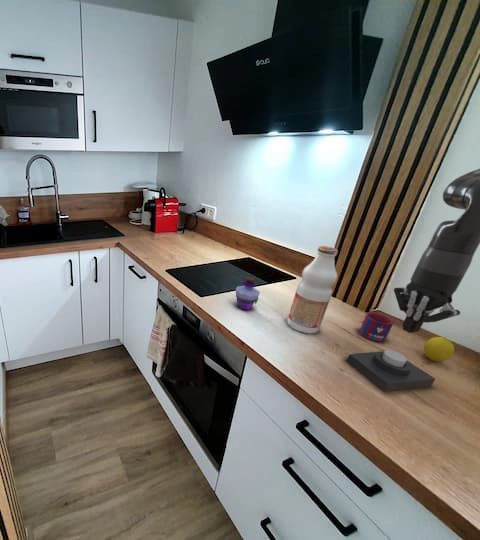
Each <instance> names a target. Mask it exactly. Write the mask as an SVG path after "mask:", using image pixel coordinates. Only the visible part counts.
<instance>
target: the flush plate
mask: <svg viewBox="0 0 480 540" xmlns="http://www.w3.org/2000/svg"><path fill="white" fill-rule="evenodd" d="M385 351H386V350H381V351H371V352H370V351H369V352H359V353H356V352H355V353H349V354H348V356H347V358H346V363H347V364H349V365H350V366H351V367H353V369H355V370H356V371H357V372H358V373H360V374H361V375H363V377H365V378H366V379H368V380H369V381H370V382H371V383H372V384H374V385H375V386H376V387H377V388H379V389H380V390H381V391H382V392H385V393H386V392H394V391H404V390H414V389H421V388H432V385H433V384H434V382H435V381H436V378H435V377H433V376H432V375H430V374H429V373H428V372H426V371H424V370H423V369H421V368H419V367H418V366H417V365H415V364H413V363H412V362H410V361H409V360H407V361H406V363H405V364H404V366H403V367H397V366H393V365H391V364H389V363H387V362H385V361H384V360H383V359H382V356H383V354H384V352H385Z"/></svg>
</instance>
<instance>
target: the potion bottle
mask: <svg viewBox="0 0 480 540" xmlns="http://www.w3.org/2000/svg"><path fill="white" fill-rule="evenodd" d="M256 285H257V281H256V279H255V278H254V277H253V276H252V277H251V276H246V277H245V279H243V283H242V285H238V286H237V287H236V288H235V298H236V307H237V308H238V309H239V310H242V311H245V312H247V311H251V310H252V309H253V306H254V305H256V304H258V301H259V296H260V294H261V291H260V290H258V289H256Z"/></svg>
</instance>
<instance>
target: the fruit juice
mask: <svg viewBox="0 0 480 540" xmlns="http://www.w3.org/2000/svg"><path fill="white" fill-rule="evenodd" d="M338 252H339V251H338V248H335V247H332V246H326V245H322V246H321V245H320V246H318V248H317V254H316V255H315V257H314V259H313V260H312V261H311V262H310V263H309V264H308V265H306V266H304V268H303V270H302V273H301V281H299V283H298V285H297V287H296V289H295V293H294V297H293V300H292V303H291V307H290V310H289V313H288V316H287V320H286V321H287V324H288V326H289V327H290V328H292V329H294V330H295V331H298V332H301V333H304V334H316V333H317V332H318V331H319V330H320V328H321V325H322V323H323V320H324V317H325V314H326V311H327V310H328V306H329V303H330V301H331V298H332V295H333V286H334V285H335V284H336V283H337V280H338V273H337V270H336V265H335V263H336V262H335V257H336V256H337V255H338Z"/></svg>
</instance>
